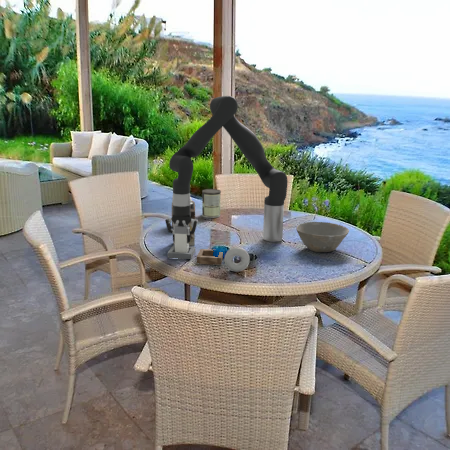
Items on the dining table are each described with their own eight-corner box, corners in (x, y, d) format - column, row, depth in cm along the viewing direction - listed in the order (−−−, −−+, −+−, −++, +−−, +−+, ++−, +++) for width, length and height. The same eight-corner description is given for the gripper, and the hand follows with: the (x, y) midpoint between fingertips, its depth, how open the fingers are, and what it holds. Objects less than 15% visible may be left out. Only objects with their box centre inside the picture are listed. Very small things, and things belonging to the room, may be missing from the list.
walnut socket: (223, 256, 212) (223, 250, 211) (220, 265, 202) (221, 258, 201) (200, 255, 213) (200, 248, 212) (196, 263, 203) (196, 256, 202)
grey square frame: (195, 252, 217) (195, 246, 216) (191, 259, 207) (191, 254, 207) (172, 250, 218) (172, 245, 217) (167, 258, 208) (167, 252, 208)
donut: (249, 270, 197) (249, 246, 195) (249, 273, 194) (250, 248, 191) (223, 269, 197) (224, 245, 194) (224, 272, 194) (224, 248, 191)
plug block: (188, 250, 214) (188, 224, 211) (186, 254, 210) (186, 227, 206) (177, 250, 215) (177, 223, 212) (174, 253, 210) (174, 226, 207)
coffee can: (198, 215, 278) (198, 190, 274) (212, 212, 284) (213, 188, 280) (209, 218, 270) (209, 193, 266) (224, 216, 277) (224, 191, 273)
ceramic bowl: (286, 244, 230) (287, 223, 227) (329, 240, 237) (331, 220, 235) (311, 260, 210) (312, 237, 207) (357, 255, 217) (359, 233, 215)
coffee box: (175, 247, 223) (175, 212, 219) (172, 242, 229) (172, 208, 225) (195, 245, 225) (195, 211, 221) (192, 241, 231) (192, 207, 227)
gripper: (200, 202, 209) (199, 240, 214) (166, 200, 211) (167, 239, 215) (197, 206, 202) (196, 246, 207) (162, 204, 204) (163, 244, 208)
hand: (181, 242), depth 211 cm, fingers closed on plug block, 4 cm apart
